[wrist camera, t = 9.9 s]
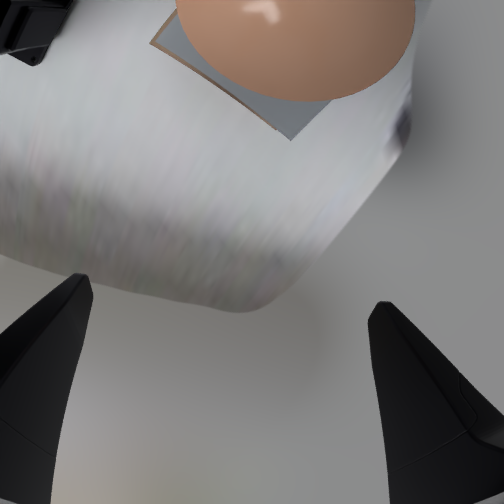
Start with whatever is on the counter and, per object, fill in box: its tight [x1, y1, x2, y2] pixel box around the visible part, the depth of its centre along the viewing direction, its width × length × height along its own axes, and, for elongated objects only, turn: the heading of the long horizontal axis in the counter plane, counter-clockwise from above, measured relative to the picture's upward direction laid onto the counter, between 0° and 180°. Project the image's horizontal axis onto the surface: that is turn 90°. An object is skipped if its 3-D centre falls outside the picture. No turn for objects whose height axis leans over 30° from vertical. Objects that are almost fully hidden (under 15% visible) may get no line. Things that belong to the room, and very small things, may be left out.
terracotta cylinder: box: [176, 0, 415, 102], centre depth 6 cm, size 5×5×5 cm
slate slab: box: [155, 14, 333, 141], centre depth 10 cm, size 6×6×4 cm
